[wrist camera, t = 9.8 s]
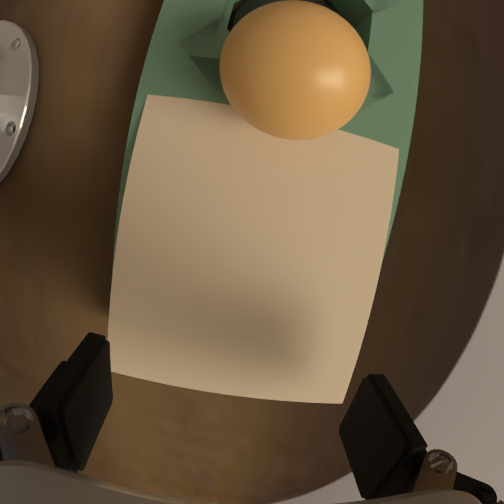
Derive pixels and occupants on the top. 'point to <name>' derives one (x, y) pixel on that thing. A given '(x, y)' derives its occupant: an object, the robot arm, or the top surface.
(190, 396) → the top surface
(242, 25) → the ball
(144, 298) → the putting mat
